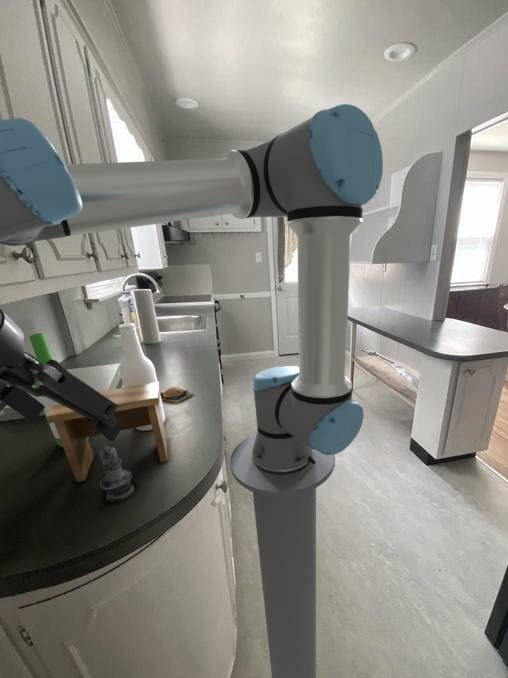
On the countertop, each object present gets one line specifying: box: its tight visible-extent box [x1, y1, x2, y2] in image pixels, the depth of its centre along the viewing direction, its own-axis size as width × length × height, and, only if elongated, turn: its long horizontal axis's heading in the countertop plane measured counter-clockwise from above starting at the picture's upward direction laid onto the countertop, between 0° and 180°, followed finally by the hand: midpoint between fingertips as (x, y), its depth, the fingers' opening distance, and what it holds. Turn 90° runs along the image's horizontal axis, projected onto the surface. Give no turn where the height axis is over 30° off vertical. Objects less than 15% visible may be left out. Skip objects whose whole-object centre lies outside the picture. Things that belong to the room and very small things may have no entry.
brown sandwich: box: [160, 386, 194, 404], centre depth 108 cm, size 11×8×4 cm
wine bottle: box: [28, 332, 90, 449], centre depth 78 cm, size 8×8×30 cm
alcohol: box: [118, 322, 166, 431], centre depth 85 cm, size 9×9×30 cm
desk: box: [45, 381, 169, 483], centre depth 72 cm, size 10×21×17 cm, turn 111°
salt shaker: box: [99, 444, 135, 502], centre depth 62 cm, size 6×6×12 cm
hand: (76, 423), depth 47 cm, fingers open, 13 cm apart
